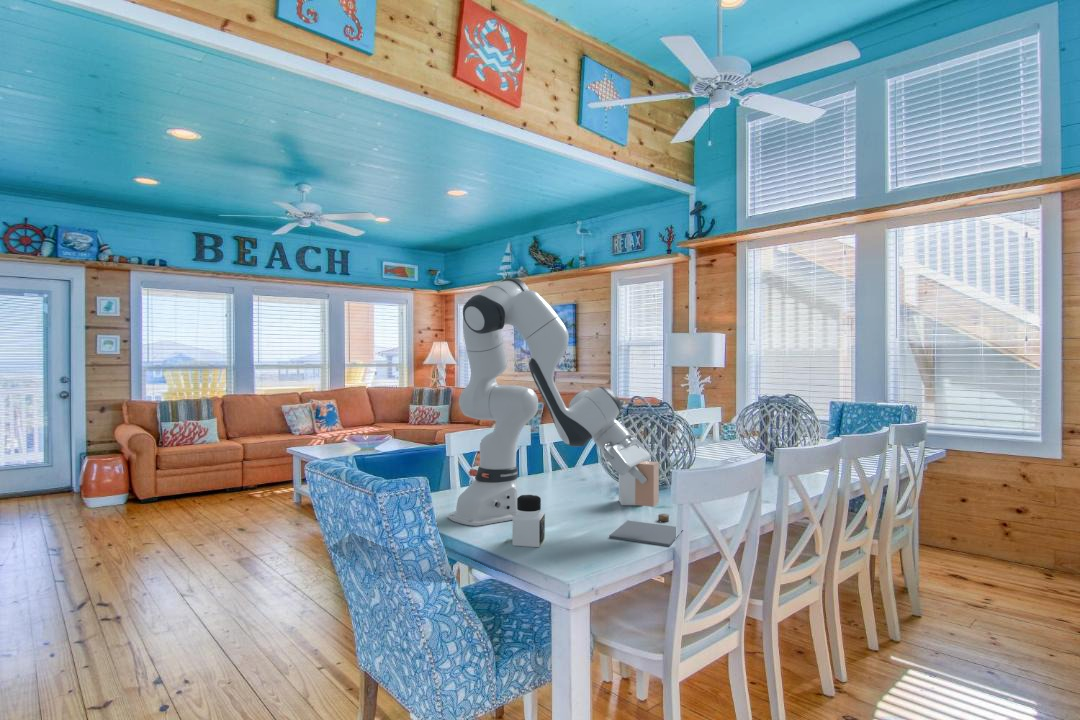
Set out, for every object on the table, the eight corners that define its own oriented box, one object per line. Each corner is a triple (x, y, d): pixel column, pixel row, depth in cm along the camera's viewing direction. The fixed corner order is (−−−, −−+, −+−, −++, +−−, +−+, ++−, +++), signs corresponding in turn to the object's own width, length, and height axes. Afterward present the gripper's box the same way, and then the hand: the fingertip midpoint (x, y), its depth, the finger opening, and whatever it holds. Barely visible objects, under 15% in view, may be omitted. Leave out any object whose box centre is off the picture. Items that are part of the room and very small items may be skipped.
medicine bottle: (540, 547, 147) (540, 499, 147) (512, 546, 149) (512, 498, 149) (544, 539, 154) (545, 493, 154) (518, 537, 156) (518, 492, 156)
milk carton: (643, 505, 189) (643, 446, 189) (621, 505, 189) (621, 446, 189) (640, 500, 196) (640, 443, 196) (618, 500, 196) (618, 443, 196)
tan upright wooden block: (635, 504, 157) (635, 463, 157) (640, 500, 162) (640, 460, 162) (653, 506, 155) (653, 465, 155) (658, 502, 160) (658, 462, 160)
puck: (665, 522, 170) (665, 517, 170) (656, 520, 172) (656, 515, 172) (670, 520, 172) (670, 515, 172) (662, 518, 174) (662, 513, 174)
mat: (609, 537, 156) (609, 535, 156) (627, 522, 170) (627, 520, 170) (669, 546, 149) (669, 544, 149) (683, 529, 163) (683, 527, 163)
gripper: (609, 437, 152) (645, 479, 148) (633, 429, 171) (667, 466, 166) (593, 453, 154) (628, 494, 150) (618, 443, 173) (651, 480, 168)
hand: (649, 479), depth 158 cm, fingers closed on tan upright wooden block, 5 cm apart
